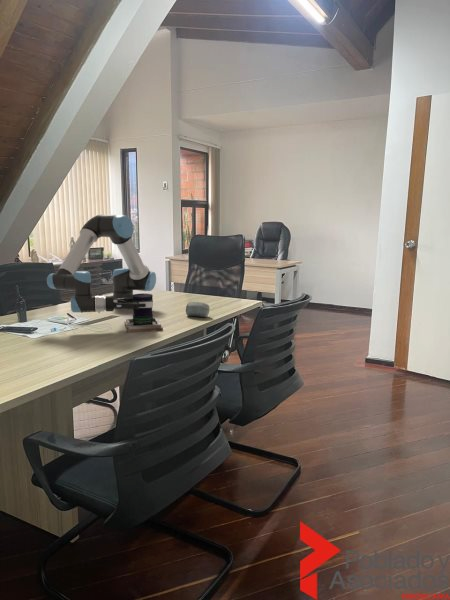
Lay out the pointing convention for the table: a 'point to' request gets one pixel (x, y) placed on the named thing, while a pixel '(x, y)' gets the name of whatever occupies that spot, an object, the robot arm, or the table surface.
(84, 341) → the table surface
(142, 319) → the rusty blue barrel
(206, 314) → the spool
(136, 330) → the cradle plate
